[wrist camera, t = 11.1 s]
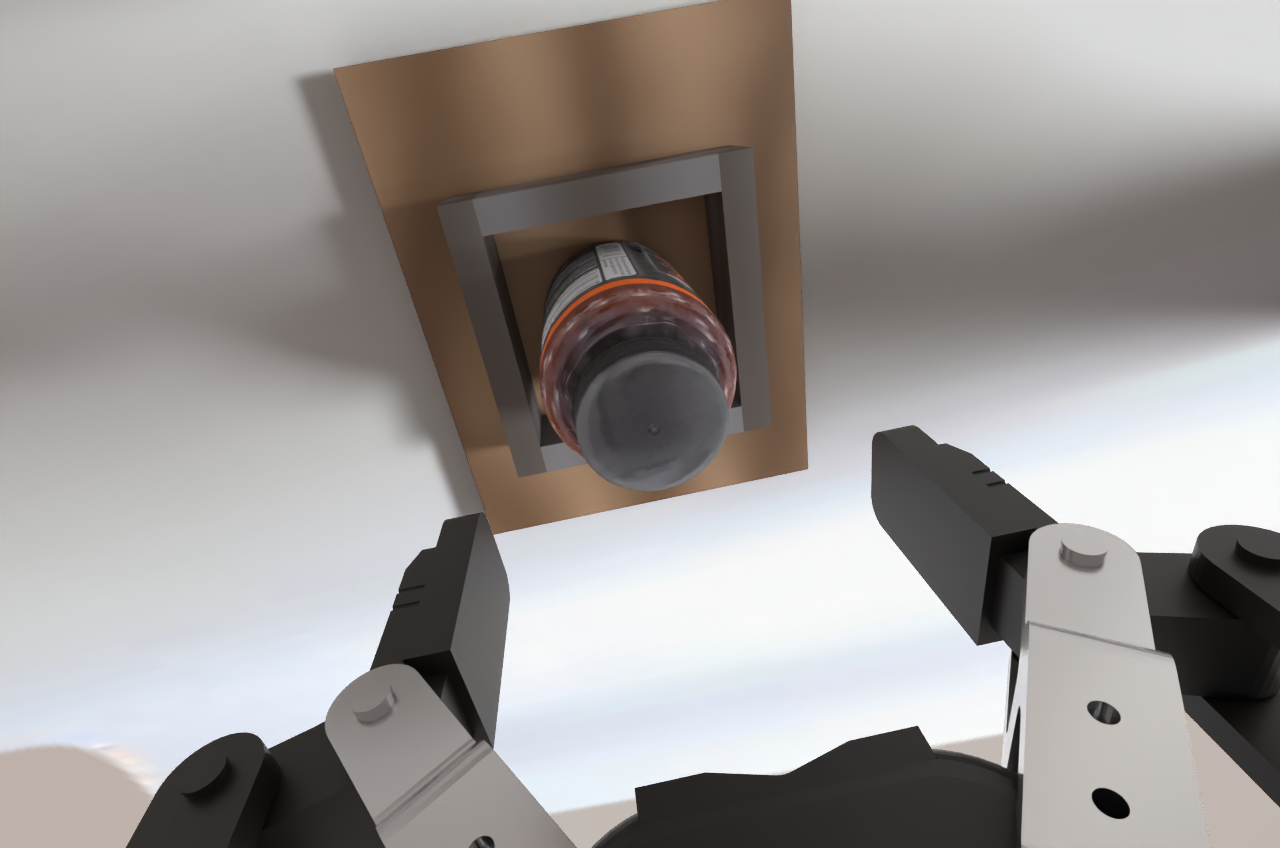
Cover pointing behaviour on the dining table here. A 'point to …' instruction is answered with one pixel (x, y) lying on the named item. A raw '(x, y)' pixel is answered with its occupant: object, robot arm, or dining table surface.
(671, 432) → the supplement bottle
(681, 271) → the socket plate
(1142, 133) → the dining table surface
